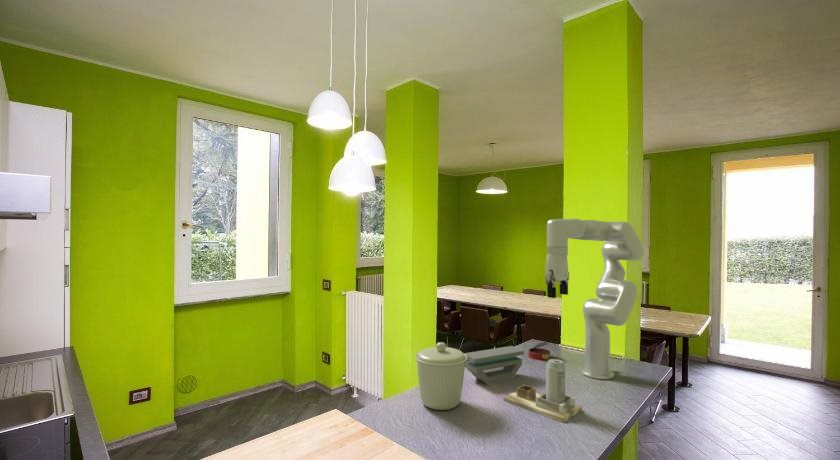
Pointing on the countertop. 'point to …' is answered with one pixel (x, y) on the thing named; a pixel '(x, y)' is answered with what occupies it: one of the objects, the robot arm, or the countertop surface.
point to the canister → (440, 376)
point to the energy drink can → (555, 381)
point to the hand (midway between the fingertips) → (557, 295)
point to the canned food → (539, 352)
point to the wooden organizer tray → (543, 403)
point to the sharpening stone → (494, 364)
